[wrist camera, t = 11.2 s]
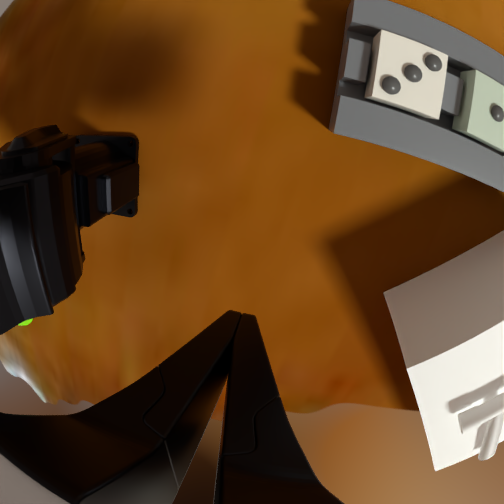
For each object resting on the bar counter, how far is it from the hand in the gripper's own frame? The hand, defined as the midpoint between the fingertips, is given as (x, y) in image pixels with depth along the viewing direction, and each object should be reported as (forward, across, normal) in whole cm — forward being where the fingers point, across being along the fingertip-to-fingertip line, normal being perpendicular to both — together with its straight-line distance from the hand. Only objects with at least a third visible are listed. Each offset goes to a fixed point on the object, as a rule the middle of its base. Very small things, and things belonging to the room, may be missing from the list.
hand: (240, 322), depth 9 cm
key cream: (+11, -6, -10) cm, 16 cm away
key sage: (+11, -12, -10) cm, 19 cm away
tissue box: (+14, -24, +11) cm, 29 cm away
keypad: (+13, -12, -10) cm, 20 cm away
